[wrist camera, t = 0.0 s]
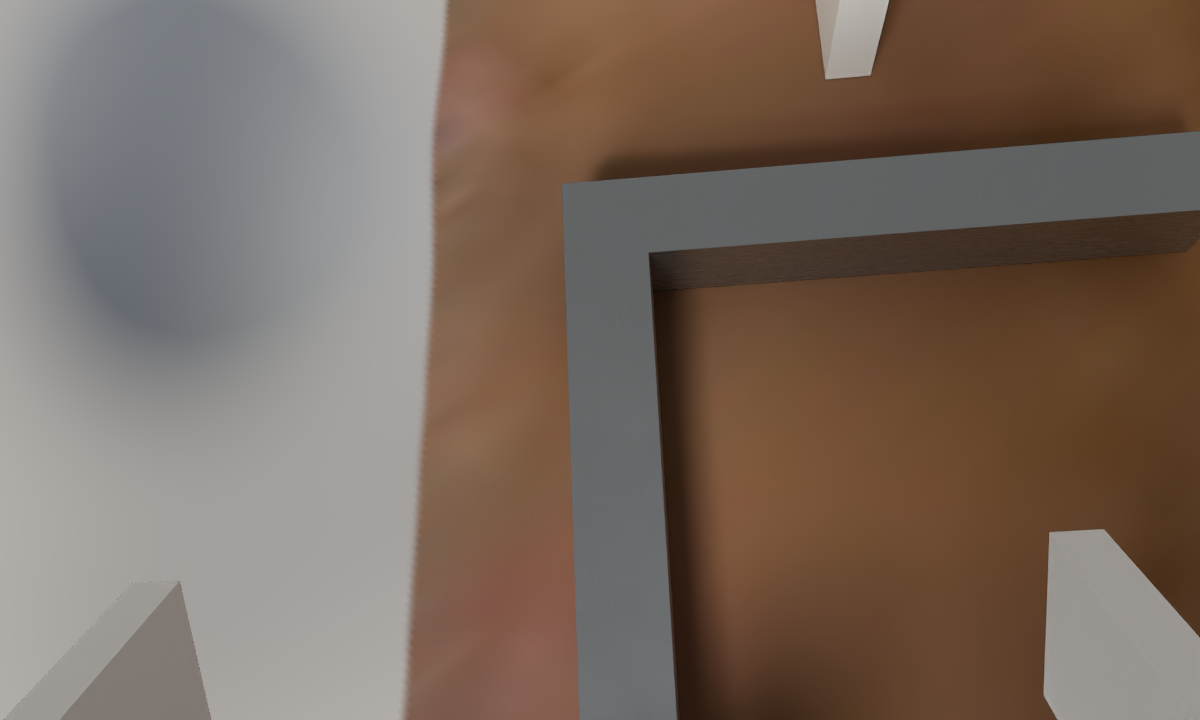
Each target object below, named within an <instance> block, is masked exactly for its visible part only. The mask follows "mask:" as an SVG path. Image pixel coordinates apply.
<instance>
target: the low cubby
mask: <svg viewBox="0 0 1200 720" xmlns="http://www.w3.org/2000/svg"><path fill="white" fill-rule="evenodd" d="M815 1H816V9H817V17H818V25H819V32H820V40H821V48H822V56H823V64H824V72H825V79H836V78H848V77H859V76H870V75H871V71H872V67H873V63H874V59H875V55H876V51H877V47H878V43H879V39H880V35H881V31H882V27H883V23H884V19H885V15H886V11H887V7H888V3H889V0H815Z"/></svg>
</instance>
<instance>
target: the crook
mask: <svg viewBox="0 0 1200 720" xmlns="http://www.w3.org/2000/svg"><path fill="white" fill-rule="evenodd" d="M562 202H563V233H564V263H565V294H566V324H567V355H568V385H569V416H570V446H571V476H572V507H573V537H574V568H575V598H576V629H577V659H578V690H579V720H680V715H679V699H678V683H677V666H676V650H675V634H674V618H673V602H672V585H671V569H670V553H669V537H668V520H667V504H666V488H665V472H664V456H663V439H662V423H661V407H660V391H659V374H658V358H657V342H656V326H655V309H654V293H653V291H663V290H676V289H690V288H703V287H717V286H730V285H743V284H757V283H770V282H784V281H797V280H811V279H824V278H838V277H851V276H864V275H878V274H891V273H905V272H918V271H932V270H945V269H959V268H972V267H986V266H999V265H1012V264H1026V263H1039V262H1053V261H1066V260H1080V259H1093V258H1107V257H1120V256H1133V255H1147V254H1160V253H1174V252H1186V251H1187V250H1188V249H1189V248H1190V247H1191V246H1192V245H1193V244H1194V243H1195V242H1196V241H1197V240H1198V239H1199V238H1200V131H1196V132H1184V133H1172V134H1160V135H1147V136H1135V137H1123V138H1111V139H1099V140H1087V141H1075V142H1063V143H1051V144H1038V145H1026V146H1014V147H1002V148H990V149H978V150H966V151H954V152H942V153H930V154H917V155H905V156H893V157H881V158H869V159H857V160H845V161H833V162H821V163H808V164H796V165H784V166H772V167H760V168H748V169H736V170H724V171H712V172H699V173H687V174H675V175H663V176H651V177H639V178H627V179H615V180H603V181H591V182H578V183H566V184H562Z"/></svg>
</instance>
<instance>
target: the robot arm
mask: <svg viewBox="0 0 1200 720" xmlns="http://www.w3.org/2000/svg"><path fill="white" fill-rule="evenodd" d="M1044 697H1045V699H1046V700H1047V702H1048V704H1049V706H1050V707H1051V709H1052V711H1053V713H1054V714H1055V716H1056V718H1057V720H1200V637H1199V636H1198V635H1197V634H1196V633H1195V632H1194V631H1193V629H1192V628H1191V627H1190V626H1189V625H1188V624H1187V623H1186V622H1185V620H1184V619H1183V618H1182V617H1181V616H1180V615H1179V614H1178V612H1177V611H1176V610H1175V609H1174V608H1173V607H1172V606H1171V605H1170V603H1169V602H1168V601H1167V600H1166V599H1165V598H1164V597H1163V596H1162V594H1161V593H1160V592H1159V591H1158V590H1157V589H1156V588H1155V586H1154V585H1153V584H1152V583H1151V582H1150V581H1149V580H1148V579H1147V577H1146V576H1145V575H1144V574H1143V573H1142V572H1141V571H1140V570H1139V568H1138V567H1137V566H1136V565H1135V564H1134V563H1133V562H1132V561H1131V559H1130V558H1129V557H1128V556H1127V555H1126V554H1125V553H1124V551H1123V550H1122V549H1121V548H1120V547H1119V546H1118V545H1117V544H1116V542H1115V541H1114V540H1113V539H1112V538H1111V537H1110V536H1109V535H1108V533H1107V532H1106V531H1105V530H1104V529H1097V530H1079V531H1061V532H1049V559H1048V586H1047V614H1046V641H1045V668H1044ZM3 720H211V716H210V712H209V708H208V703H207V699H206V695H205V690H204V686H203V681H202V678H201V673H200V668H199V664H198V659H197V655H196V651H195V646H194V642H193V637H192V633H191V629H190V625H189V620H188V616H187V611H186V607H185V602H184V598H183V594H182V589H181V585H180V581H166V582H149V583H132V584H131V585H130V586H129V587H128V588H127V589H126V590H125V591H124V593H123V594H122V595H121V596H120V597H119V598H118V599H117V600H116V601H115V602H114V603H113V604H112V605H111V606H110V607H109V608H108V609H107V611H105V613H104V614H103V615H102V616H101V617H100V618H99V619H98V620H97V621H96V622H95V623H94V624H93V625H92V626H91V627H90V628H89V630H88V631H87V632H86V633H85V634H84V635H83V636H82V637H81V638H80V639H79V640H78V641H77V642H76V643H75V645H73V646H72V647H71V649H70V650H69V651H68V652H67V653H66V654H65V655H64V656H63V657H62V658H61V659H60V660H59V661H58V662H57V664H55V665H54V666H53V668H52V669H51V670H50V671H49V672H48V673H47V674H46V675H45V676H44V677H43V678H42V679H41V680H40V681H39V682H38V683H37V685H35V687H34V688H33V689H32V690H31V691H30V692H29V693H28V694H27V695H26V696H25V697H24V698H23V699H22V700H21V702H19V703H18V705H17V706H16V707H15V708H14V709H13V710H12V711H11V712H10V713H9V714H8V715H7V716H6V717H5V718H4V719H3Z"/></svg>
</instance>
